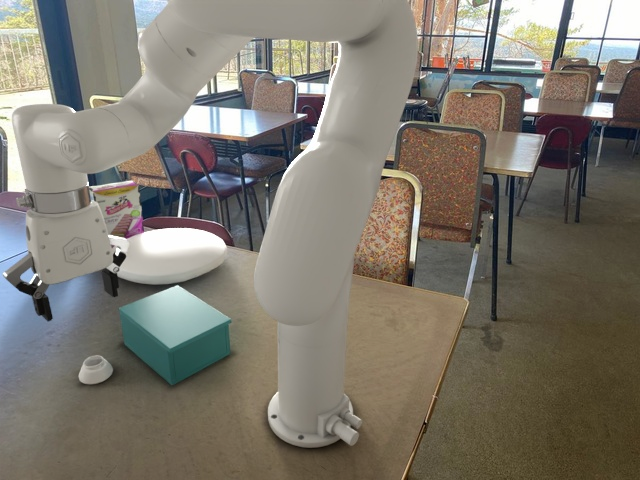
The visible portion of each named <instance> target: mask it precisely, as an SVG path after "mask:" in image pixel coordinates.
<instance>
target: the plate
mask: <svg viewBox="0 0 640 480" xmlns="http://www.w3.org/2000/svg"><path fill="white" fill-rule="evenodd" d="M127 240H129V241H130V245H129V248H128V251H127V253H126V259H125V260H124V261H123V263H122V264H121V266H120V271H119V272H118V273H117V276H118V278H120V279H123V280H126V281H129V282H133V283H136V284H137V283H138V284H144V285H155V286H156V285H170V284H177V283H178V284H179V283H184V282H187V281H189V280H193V279H194V278H197V277H200V276H202V275H205V274H207V273H209V272H211V271H213V270H215V269H216V268H218V267H219V266H221V265H222V264H223V263H224V262H225V260H226V258H227V255H228V247H227V244H226V243H225V241H224V240H223V239H222V238H221V237H219V236H218V235H215V234H214V233H212V232H208V231H205V230H201V229H197V228H196V229H195V228H187V227H184V228H182V227H180V228H179V227H177V228H176V227H174V228H173V227H172V228H162V229H161V228H160V229H155V230H149V231H144V233H141V234H137V235H134V236H132V237H130V238H127ZM116 250H117V246H114V247H113V248H112V253H113V254H114V252H115V251H116Z"/></svg>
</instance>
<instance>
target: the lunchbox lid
mask: <svg viewBox="0 0 640 480" xmlns="http://www.w3.org/2000/svg"><path fill="white" fill-rule="evenodd" d="M118 312H120V313H121V314H123V315H124V316H125V317H126V318H128V319H129V320H130V321H131V322H133V323H134V324H135V325H136V326H138V327H139V328H140V329H141V330H143V331H144V332H145V333H146V334H148V335H149V336H150V337H151V338H153V339H154V340H155V341H156V342H158V343H159V344H160V345H161V346H163V347H164V348H165V349H166V350H168V351H169V352H170V353H171V352H173V351H175V350H177V349H179V348H181V347H183V346H185V345H187V344H190V343H192V342H194V341H196V340H198V339H200V338H202V337H204V336H206V335H208V334H210V333H212V332H214V331H216V330H218V329H220V328H222V327H224V326H226V325H228V324H229V325H231V324H232V319H231V317H228V316H227V315H225V314H224V313H222V312H221V311H219V310H218V309H216V308H214V307H213V306H211V305H210V304H208V303H206V302H205V301H203V300H202V299H200V298H199V297H197V296H195V295H194V294H192V293H191V292H190V291H188V290H186V289H185V288H183V287H181V286H180V285H178V284H177V285H174V286H172V287H169V288H167V289H164V290H162V291H159V292H157V293H153V294H151V295H149V296H146V297H143V298H140V299H137V300H136V301H132V302H130V303H127V304H125V305H123V306H120V307H119V308H118ZM120 313H119V314H120Z"/></svg>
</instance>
